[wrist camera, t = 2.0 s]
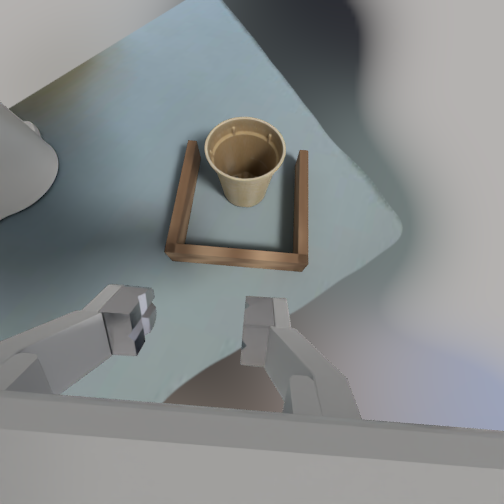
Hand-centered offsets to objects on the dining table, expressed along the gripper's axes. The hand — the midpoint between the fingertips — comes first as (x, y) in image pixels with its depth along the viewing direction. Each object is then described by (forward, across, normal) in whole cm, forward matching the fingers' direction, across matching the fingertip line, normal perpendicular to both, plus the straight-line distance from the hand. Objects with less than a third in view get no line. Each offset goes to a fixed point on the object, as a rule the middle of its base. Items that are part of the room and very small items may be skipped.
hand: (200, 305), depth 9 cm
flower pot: (+29, 0, +1) cm, 29 cm away
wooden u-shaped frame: (+27, 0, +4) cm, 27 cm away
